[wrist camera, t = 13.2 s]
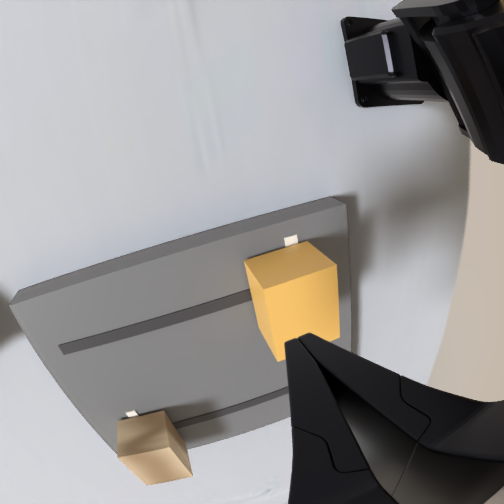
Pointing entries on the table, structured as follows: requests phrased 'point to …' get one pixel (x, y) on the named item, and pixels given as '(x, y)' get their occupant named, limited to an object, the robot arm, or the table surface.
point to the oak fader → (153, 448)
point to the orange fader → (294, 295)
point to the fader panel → (179, 327)
